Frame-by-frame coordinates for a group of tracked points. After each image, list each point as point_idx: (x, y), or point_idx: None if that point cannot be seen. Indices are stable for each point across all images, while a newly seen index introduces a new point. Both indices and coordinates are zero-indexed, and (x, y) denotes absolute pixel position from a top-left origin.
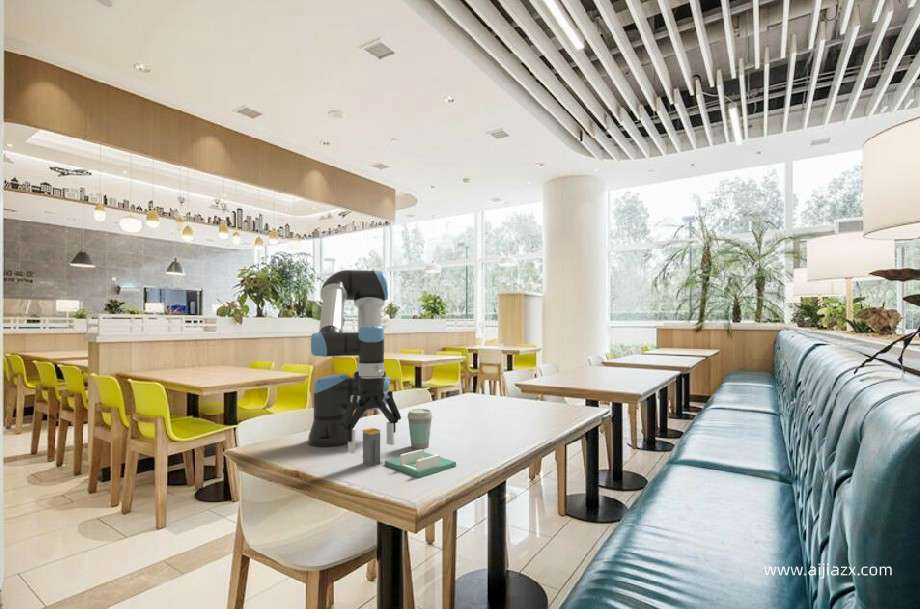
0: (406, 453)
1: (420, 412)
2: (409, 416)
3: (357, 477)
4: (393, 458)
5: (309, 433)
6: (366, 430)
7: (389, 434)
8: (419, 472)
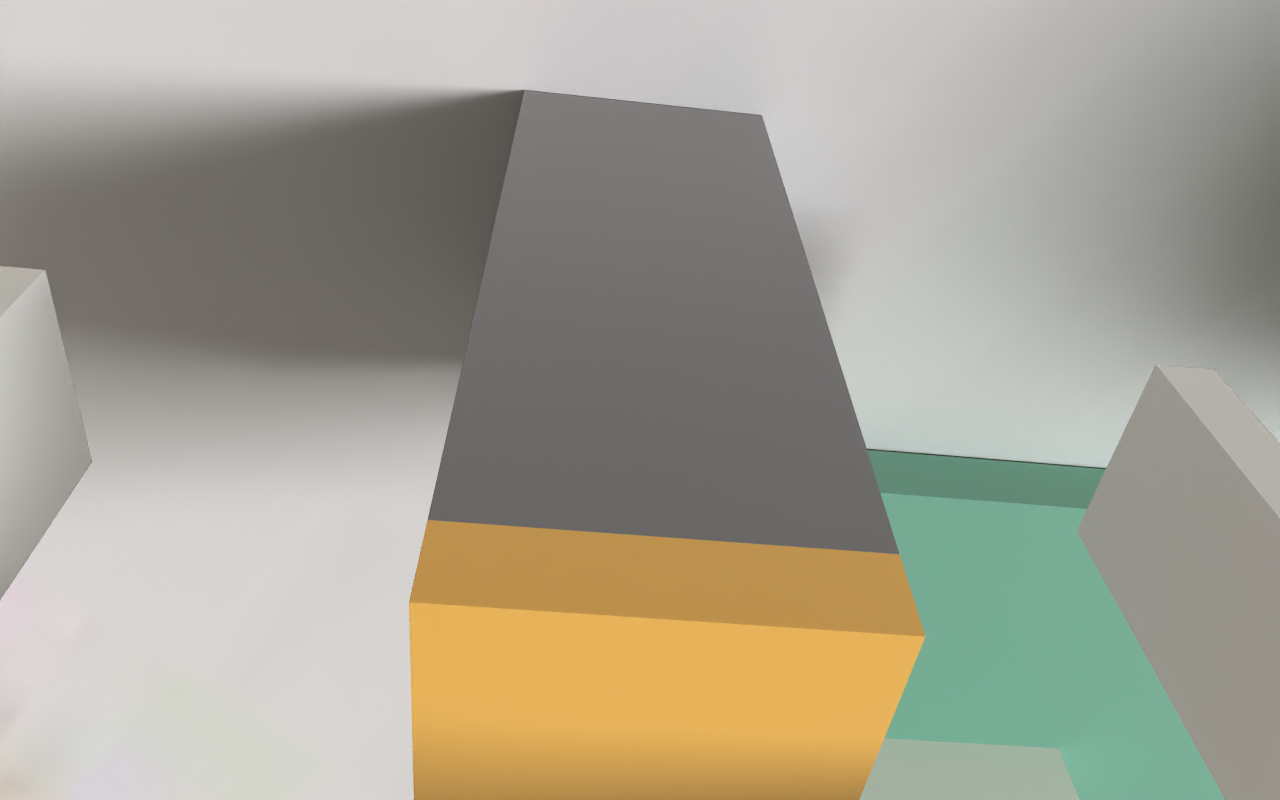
0: None
1: None
2: None
3: (90, 545)
4: (895, 497)
5: None
6: (438, 758)
7: (1222, 645)
8: None
